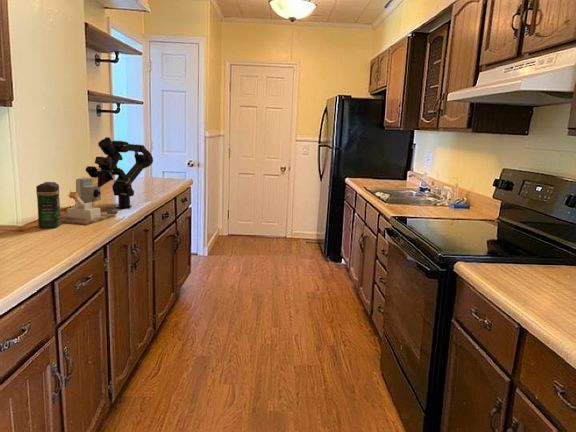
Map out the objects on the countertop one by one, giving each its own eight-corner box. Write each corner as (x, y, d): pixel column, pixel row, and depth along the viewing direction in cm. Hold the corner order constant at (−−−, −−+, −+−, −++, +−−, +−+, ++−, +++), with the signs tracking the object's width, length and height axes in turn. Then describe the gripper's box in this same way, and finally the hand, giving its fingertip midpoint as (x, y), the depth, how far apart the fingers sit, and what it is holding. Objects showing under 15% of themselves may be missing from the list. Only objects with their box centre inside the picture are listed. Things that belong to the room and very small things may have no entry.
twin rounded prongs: (96, 211, 222) (96, 207, 222) (118, 213, 219) (118, 209, 219) (87, 213, 215) (87, 209, 215) (109, 215, 213) (109, 211, 212)
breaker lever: (82, 205, 204) (70, 191, 196) (88, 205, 203) (76, 192, 195) (80, 208, 203) (68, 195, 195) (86, 209, 202) (74, 196, 194)
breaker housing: (77, 214, 208) (76, 200, 207) (100, 216, 206) (100, 202, 205) (67, 217, 202) (66, 202, 200) (90, 219, 199) (90, 204, 198)
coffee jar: (57, 228, 185) (54, 183, 181) (36, 229, 183) (33, 183, 179) (63, 223, 194) (60, 180, 190) (43, 223, 192) (40, 180, 188)
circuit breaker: (95, 209, 225) (93, 180, 222) (69, 207, 228) (68, 178, 225) (104, 207, 232) (102, 178, 230) (79, 205, 235) (77, 176, 232)
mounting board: (81, 213, 215) (81, 211, 215) (114, 216, 212) (114, 214, 211) (51, 221, 196) (51, 219, 196) (87, 225, 192) (87, 222, 192)
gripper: (86, 149, 216) (72, 174, 208) (121, 151, 212) (108, 177, 204) (97, 164, 225) (84, 189, 217) (131, 166, 221) (119, 191, 213)
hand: (98, 186), depth 212 cm, fingers closed
